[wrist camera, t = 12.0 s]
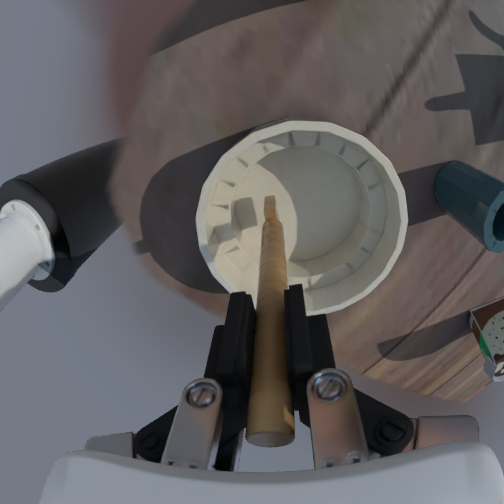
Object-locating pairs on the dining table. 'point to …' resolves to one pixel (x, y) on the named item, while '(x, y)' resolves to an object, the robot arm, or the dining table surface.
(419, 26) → the dining table surface
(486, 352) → the food container
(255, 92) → the dining table surface
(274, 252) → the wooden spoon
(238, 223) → the bowl
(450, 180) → the crock
